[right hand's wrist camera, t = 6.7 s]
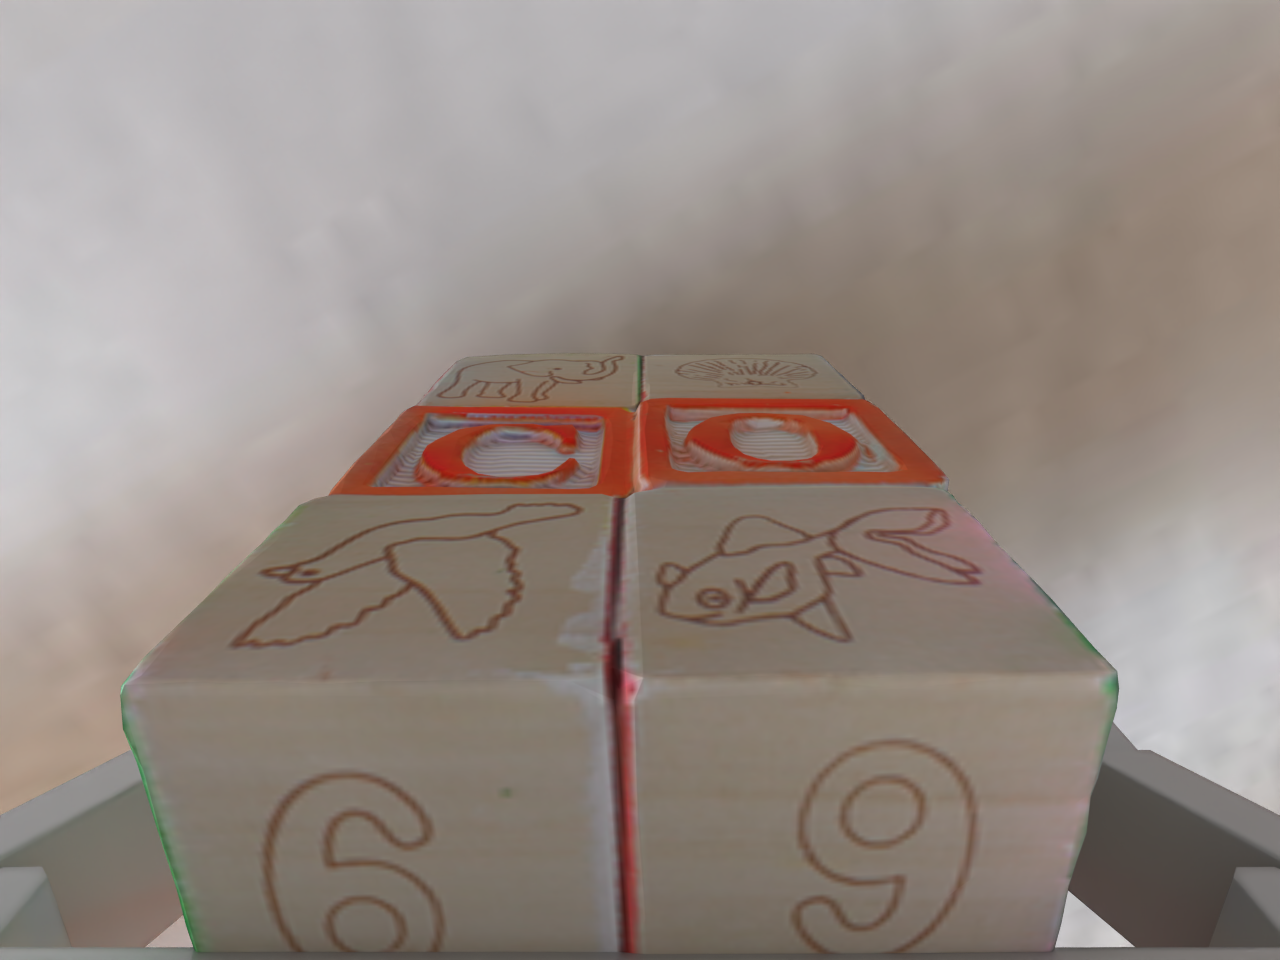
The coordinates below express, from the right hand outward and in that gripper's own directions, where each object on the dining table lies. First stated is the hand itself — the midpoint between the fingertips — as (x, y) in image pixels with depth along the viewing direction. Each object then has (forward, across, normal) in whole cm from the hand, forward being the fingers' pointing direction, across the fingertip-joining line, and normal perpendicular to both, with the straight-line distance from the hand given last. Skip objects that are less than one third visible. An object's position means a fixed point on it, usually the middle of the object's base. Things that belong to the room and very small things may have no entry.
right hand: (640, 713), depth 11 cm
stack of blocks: (+4, 0, +7) cm, 8 cm away
